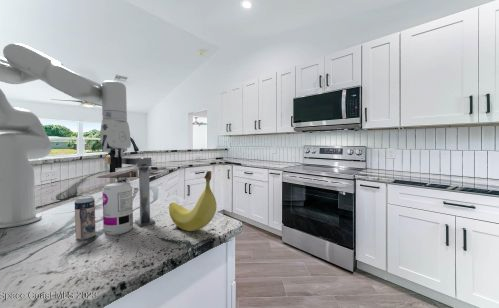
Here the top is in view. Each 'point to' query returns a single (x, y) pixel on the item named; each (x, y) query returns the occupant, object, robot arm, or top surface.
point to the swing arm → (133, 161)
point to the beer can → (85, 217)
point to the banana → (195, 210)
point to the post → (144, 198)
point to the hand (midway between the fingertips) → (116, 168)
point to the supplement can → (117, 208)
